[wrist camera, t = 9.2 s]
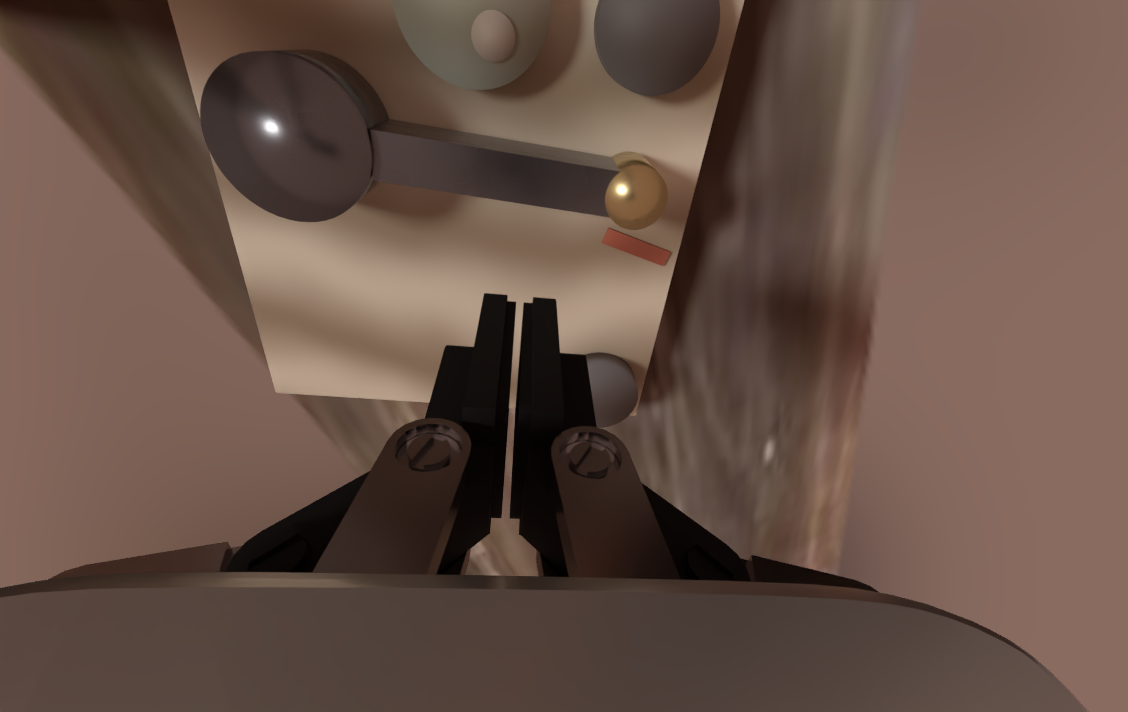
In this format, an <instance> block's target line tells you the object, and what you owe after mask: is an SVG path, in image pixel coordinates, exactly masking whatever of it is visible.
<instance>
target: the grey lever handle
mask: <svg viewBox="0 0 1128 712" xmlns="http://www.w3.org/2000/svg"><path fill="white" fill-rule="evenodd" d="M200 120H201V126H202V131H203V135H204V138H205V141H206V144H207V146H208V149H209V151H210V154H211V155H212V157H213V159H214V161H215V163H216V164H217V166H218V167H219V169H220V170H221V172H222V173H223V175H224V176H225V177H226V178H227V179H228V181H229V182H230V183H231V184H232V185H233V186H234V187H235V188H236V189H237V190H238V191H239V192H240V193H241V194H242V195H243V196H245V197H246V198H247V199H248V200H250V201H251V202H253V203H254V204H255V205H257V206H258V207H260V208H262V209H264V210H266V211H267V212H269V213H272V214H274V215H276V216H279V217H282V218H285V219H288V220H293V221H298V222H320V221H326V220H329V219H332V218H335V217H337V216H339V215H341V214H343V213H344V212H346V211H347V210H348V209H350V208H351V207H352V206H353V205H354V204H356V203H357V202H358V201H359V200H360V199H361V198H362V197H363V196H365V195H366V194H367V193H368V192H369V191H370V190H371V189H373V188H374V187H375V186H376V185H377V184H378V183H379V182H384V183H391V184H397V185H404V186H410V187H417V188H423V189H429V190H436V191H442V192H449V193H455V194H462V195H468V196H474V197H481V198H487V199H494V200H500V201H506V202H513V203H519V204H526V205H532V206H539V207H545V208H551V209H558V210H564V211H571V212H577V213H584V214H590V215H596V216H603V217H609V218H611V220H612V221H613V222H614V223H615V224H617V225H618V226H620V227H622V228H624V229H628V230H640V229H643V228H646V227H648V226H650V225H652V224H653V223H655V222H656V221H657V220H658V219H659V218H660V216H661V215H662V214H663V212H664V210H665V208H666V205H667V201H668V190H667V186H666V183H665V181H664V179H663V178H662V177H661V175H660V174H659V173H658V172H657V171H656V170H655V169H654V167H653V166H652V165H651V164H650V163H649V162H648V161H647V159H646V158H645V157H643V156H642V155H640V154H638V153H636V152H630V151H625V152H620V153H617V154H615V155H613V156H612V157H608V156H602V155H596V154H591V153H585V152H579V151H573V150H567V149H561V148H556V147H550V146H544V145H538V144H532V143H527V142H521V141H515V140H509V139H503V138H497V137H492V136H486V135H480V134H474V133H468V132H463V131H457V130H451V129H445V128H439V127H434V126H428V125H422V124H416V123H410V122H404V121H399V120H393V119H390V120H389V117H388V114H387V111H386V109H385V107H384V105H383V103H382V101H381V99H380V97H379V96H378V94H377V93H376V91H375V90H374V89H373V87H372V86H371V85H370V83H369V82H368V81H367V80H366V79H365V78H364V77H363V76H362V75H361V74H360V73H359V72H358V71H356V70H355V69H354V68H353V67H351V66H350V65H348V64H347V63H346V62H344V61H342V60H340V59H338V58H337V57H334V56H332V55H329V54H327V53H324V52H320V51H316V50H308V49H298V50H273V51H250V52H245V53H240V54H238V55H235V56H233V57H230V58H229V59H227V60H225V61H224V62H222V63H221V64H220V65H219V66H218V67H217V68H216V69H215V70H214V71H213V72H212V74H211V75H210V77H209V78H208V80H207V82H206V84H205V86H204V89H203V93H202V97H201V104H200Z"/></svg>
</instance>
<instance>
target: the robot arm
mask: <svg viewBox="0 0 1128 712" xmlns="http://www.w3.org/2000/svg"><path fill="white" fill-rule="evenodd" d="M507 299H508V295H502V294H490V293H484V296H483V302H482V307H481V312H480V317H479V323H478V328H477V333H476V338H475V344H474V347H469V346H455V345H446V346H445V349H444V352H443V356H442V359H441V363H440V366H439V370H438V373H437V377H436V381H435V384H434V388H433V391H432V395H431V399H430V402H429V406H428V409H427V413H426V416H425V419H420V420H415V421H413V422H410V423H408V424H405V425H404V426H402V427H401V428H399V429H398V430H396V431H395V432H394V433H393V435H392V436H391V437H390V438H389V439H388V441H387V443H386V444H385V446H384V448H383V450H382V451H381V453H380V455H379V457H378V458H377V460H376V462H375V464H374V465H373V467H372V469H371V471H369V472H367V473H366V474H364V475H362V476H360V477H358V478H357V479H355V480H353V481H351V482H349V483H348V484H346V485H344V486H342V487H341V488H339V489H337V490H335V491H333V492H331V493H330V494H328V495H326V496H324V497H322V498H321V499H319V500H317V501H315V502H313V503H312V504H310V505H308V506H306V507H304V508H303V509H301V510H299V511H297V512H295V513H294V514H292V515H290V516H288V517H286V518H285V519H283V520H281V521H279V522H277V523H275V524H274V525H272V526H270V527H268V528H267V529H265V530H263V531H261V532H260V533H258V534H257V535H256V536H254V537H252V538H251V539H250V540H248V541H247V542H246V543H245V544H244V545H243V546H240V547H234V548H231V547H230V545H229V543H228V542H223V543H216V544H211V545H204V546H198V547H192V548H186V549H180V550H174V551H168V552H162V553H155V554H149V555H143V556H137V557H131V558H125V559H119V560H113V561H107V562H101V563H94V564H89V565H84V566H80V567H77V568H74V569H70V570H66V571H64V572H62V573H60V574H58V575H56V576H54V577H52V578H50V579H48V580H42V581H35V582H30V583H24V584H19V585H13V586H8V587H2V588H0V712H1089V711H1088V710H1087V709H1086V708H1085V707H1084V706H1083V704H1081V702H1080V701H1079V700H1078V699H1077V698H1076V697H1075V696H1074V695H1073V694H1072V693H1071V692H1070V691H1069V690H1068V689H1067V688H1066V687H1065V686H1064V685H1063V684H1062V683H1061V682H1060V681H1059V680H1058V679H1057V678H1056V677H1055V676H1054V675H1053V674H1052V673H1051V672H1050V671H1049V670H1048V669H1047V668H1046V667H1044V666H1043V665H1042V664H1041V663H1040V662H1038V661H1037V660H1036V659H1035V658H1034V657H1033V656H1032V655H1030V654H1029V653H1027V652H1026V651H1025V650H1023V649H1022V648H1020V647H1019V646H1017V645H1016V644H1015V643H1013V642H1012V641H1010V640H1008V639H1006V638H1005V637H1003V636H1001V635H999V634H997V633H995V632H993V631H991V630H990V629H987V628H986V627H983V626H981V625H979V624H977V623H975V622H973V621H970V620H968V619H965V618H963V617H960V616H957V615H955V614H952V613H950V612H947V611H944V610H941V609H939V608H936V607H934V606H931V605H928V604H925V603H921V602H917V601H913V600H909V599H905V598H902V597H898V596H894V595H890V594H885V593H879V592H878V591H877V590H875V589H874V588H872V587H871V586H869V585H867V584H864V583H862V582H859V581H857V580H854V579H850V578H845V577H841V576H837V575H833V574H829V573H825V572H821V571H817V570H812V569H808V568H804V567H800V566H796V565H792V564H788V563H783V562H779V561H775V560H771V559H767V558H763V557H759V556H755V555H751V556H750V558H749V560H745V559H741V558H739V556H738V555H737V554H736V553H735V552H734V551H733V550H732V549H731V548H730V547H729V546H728V545H726V544H725V543H724V542H722V541H721V540H720V539H718V538H717V537H716V536H714V535H713V534H711V533H710V532H709V531H707V530H706V529H705V528H703V527H702V526H700V525H699V524H698V523H696V522H695V521H693V520H692V519H691V518H689V517H688V516H687V515H685V514H684V513H682V512H681V511H680V510H678V509H677V508H676V507H674V506H673V505H671V504H670V503H669V502H667V501H666V500H664V499H663V498H662V497H660V496H659V495H658V494H656V493H655V492H653V491H652V490H651V489H649V488H648V487H647V486H645V485H644V484H642V483H641V480H640V478H639V475H638V473H637V471H636V468H635V466H634V463H633V461H632V458H631V456H630V453H629V451H628V450H627V448H626V446H625V445H624V443H623V442H622V441H621V440H620V439H619V438H617V437H616V436H615V435H613V434H612V433H610V432H608V431H606V430H604V429H600V428H597V426H596V419H595V412H594V405H593V399H592V392H591V385H590V378H589V372H588V365H587V359H586V356H585V355H584V354H569V353H560V345H559V331H558V317H557V303H556V299H551V298H539V297H533V302H532V303H526V302H524V304H523V317H522V330H521V342H520V355H519V368H518V380H517V393H516V409H515V428H514V447H513V466H512V484H511V503H510V518H515V519H520V523H519V535H521V536H522V537H524V538H525V539H526V540H527V541H528V542H529V543H530V544H531V545H532V546H533V547H534V548H535V549H536V564H537V570H538V576H539V577H536V576H484V575H465V573H466V569H467V566H468V562H469V558H470V548H472V547H473V546H474V545H475V544H477V543H478V542H479V541H480V540H482V539H483V538H484V537H486V536H487V535H488V534H490V525H491V518H501V515H502V501H503V486H504V472H505V458H506V444H507V429H508V415H509V401H510V386H511V372H512V357H513V343H514V328H515V313H516V302H513V301H507Z"/></svg>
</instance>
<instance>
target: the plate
mask: <svg viewBox="0 0 1128 712" xmlns="http://www.w3.org/2000/svg"><path fill="white" fill-rule="evenodd" d="M168 4H169V7H170V11H171V15H172V18H173V22H174V25H175V29H176V33H177V36H178V40H179V44H180V47H181V51H182V54H183V58H184V62H185V65H186V69H187V73H188V76H189V80H190V83H191V87H192V91H193V94H194V98H195V102H196V105H197V109H198V112H199V116H200V104H201V97H202V93H203V89H204V86H205V84H206V82H207V80H208V78H209V77H210V75H211V74H212V72H213V71H214V70H215V69H216V68H217V67H218V66H219V65H220V64H221V63H222V62H224V61H225V60H227V59H229V58H230V57H233V56H235V55H238V54H240V53H245V52H250V51H273V50H298V49H308V50H316V51H320V52H324V53H327V54H329V55H332V56H334V57H337V58H338V59H340V60H342V61H344V62H346V63H347V64H348V65H350V66H351V67H353V68H354V69H355V70H356V71H358V72H359V73H360V74H361V75H362V76H363V77H364V78H365V79H366V80H367V81H368V82H369V83H370V85H371V86H372V87H373V89H374V90H375V91H376V93H377V94H378V96H379V97H380V99H381V101H382V103H383V105H384V107H385V109H386V111H387V114H388V117H389V120H390V119H393V120H399V121H404V122H410V123H416V124H422V125H428V126H434V127H439V128H445V129H451V130H457V131H463V132H468V133H474V134H480V135H486V136H492V137H497V138H503V139H509V140H515V141H521V142H527V143H532V144H538V145H544V146H550V147H556V148H561V149H567V150H573V151H579V152H585V153H591V154H596V155H602V156H608V157H612V156H613V155H615V154H617V153H620V152H625V151H630V152H636V153H638V154H640V155H642V156H643V157H645V158H646V159H647V161H648V162H649V163H650V164H651V165H652V166H653V167H654V169H655V170H656V171H657V172H658V173H659V174H660V175H661V177H662V178H663V179H664V181H665V183H666V186H667V190H668V201H667V205H666V208H665V210H664V212H663V214H662V215H661V216H660V218H659V219H658V220H657V221H656V222H655V223H653V224H652V225H650V226H648V227H646V228H643V229H640V230H628V229H624V228H622V227H620V226H618V225H617V224H615V223H614V222H613V221H612V220H611V218H609V217H603V216H596V215H590V214H584V213H577V212H571V211H564V210H558V209H551V208H545V207H539V206H532V205H526V204H519V203H513V202H506V201H500V200H494V199H487V198H481V197H474V196H468V195H462V194H455V193H449V192H442V191H436V190H429V189H423V188H417V187H410V186H404V185H397V184H391V183H384V182H379V183H378V184H377V185H376V186H375V187H374V188H373V189H371V190H370V191H369V192H368V193H367V194H366V195H365V196H363V197H362V198H361V199H360V200H359V201H358V202H357V203H356V204H354V205H353V206H352V207H351V208H350V209H348V210H347V211H346V212H344V213H343V214H341V215H339V216H337V217H335V218H332V219H329V220H326V221H320V222H298V221H293V220H288V219H285V218H282V217H279V216H276V215H274V214H272V213H269V212H267V211H266V210H264V209H262V208H260V207H258V206H257V205H255V204H254V203H253V202H251V201H250V200H248V199H247V198H246V197H245V196H243V195H242V194H241V193H240V192H239V191H238V190H237V189H236V188H235V187H234V186H233V185H232V184H231V183H230V182H229V181H228V179H227V178H226V177H225V176H224V175H223V173H222V172H221V170H220V169H219V167H218V166H217V164H216V163H215V161H214V159H213V157H212V155H211V154H210V156H211V159H212V163H213V167H214V170H215V174H216V178H217V181H218V185H219V188H220V192H221V196H222V199H223V203H224V207H225V210H226V214H227V217H228V221H229V225H230V228H231V232H232V236H233V239H234V243H235V246H236V250H237V254H238V257H239V261H240V265H241V268H242V272H243V275H244V279H245V283H246V286H247V290H248V294H249V297H250V301H251V304H252V308H253V312H254V315H255V319H256V323H257V326H258V330H259V333H260V337H261V341H262V344H263V348H264V352H265V355H266V359H267V362H268V366H269V370H270V373H271V377H272V380H273V384H274V388H275V391H276V393H290V394H306V395H321V396H337V397H352V398H367V399H383V400H398V401H414V402H430V399H431V395H432V391H433V388H434V384H435V381H436V377H437V373H438V370H439V366H440V363H441V359H442V356H443V352H444V349H445V346H446V345H455V346H469V347H474V344H475V338H476V333H477V328H478V323H479V317H480V312H481V307H482V302H483V296H484V293H490V294H502V295H508V299H507V301H513V302H516V313H515V328H514V343H513V357H512V372H511V386H510V401H509V408H516V393H517V380H518V368H519V355H520V342H521V330H522V317H523V304H524V302H526V303H532V302H533V297H539V298H551V299H556V303H557V317H558V331H559V345H560V353H569V354H584V355H585V356H586V359H587V365H588V372H589V378H590V385H591V392H592V399H593V405H594V412H595V419H596V426H597V428H603V427H608V426H611V425H614V424H617V423H619V422H621V421H622V420H624V419H625V418H626V417H628V416H629V415H630V416H636V412H637V408H638V405H639V401H640V397H641V393H642V389H643V385H644V382H645V378H646V374H647V370H648V366H649V363H650V359H651V355H652V351H653V347H654V344H655V340H656V336H657V332H658V328H659V324H660V321H661V317H662V313H663V309H664V305H665V302H666V298H667V294H668V290H669V286H670V282H671V279H672V275H673V271H674V267H675V263H676V260H677V256H678V252H679V248H680V244H681V240H682V237H683V233H684V229H685V225H686V221H687V218H688V214H689V210H690V206H691V202H692V199H693V195H694V191H695V187H696V183H697V179H698V176H699V172H700V168H701V164H702V160H703V157H704V153H705V149H706V145H707V141H708V137H709V134H710V130H711V126H712V122H713V118H714V115H715V111H716V107H717V103H718V99H719V96H720V92H721V88H722V84H723V80H724V76H725V73H726V69H727V65H728V61H729V57H730V54H731V50H732V46H733V42H734V38H735V34H736V31H737V27H738V23H739V19H740V15H741V12H742V8H743V4H744V0H168ZM209 152H210V151H209Z"/></svg>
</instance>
